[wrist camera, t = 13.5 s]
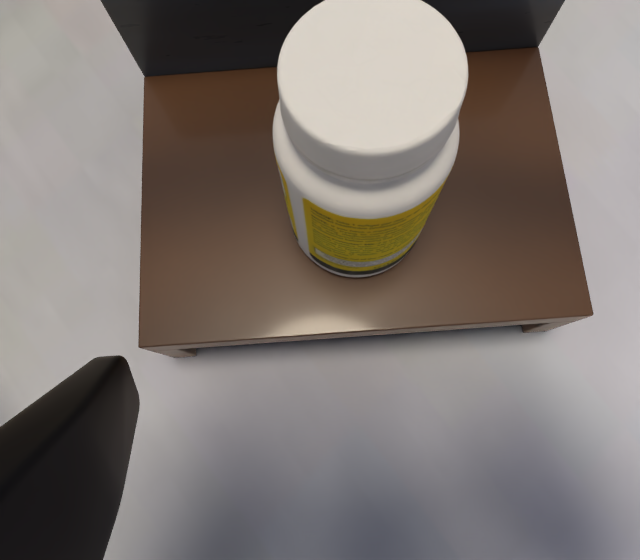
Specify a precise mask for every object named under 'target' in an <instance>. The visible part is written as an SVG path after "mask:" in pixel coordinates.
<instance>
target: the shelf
mask: <svg viewBox="0 0 640 560" xmlns="http://www.w3.org/2000/svg"><path fill="white" fill-rule="evenodd" d="M323 1H324V0H101V2H102V4H103V5H104V7H105V9H106V10H107V12H108V14H109V16H110V17H111V19H112V21H113V23H114V24H115V26H116V28H117V30H118V31H119V33H120V35H121V36H122V38H123V40H124V42H125V43H126V45H127V47H128V49H129V50H130V52H131V54H132V56H133V57H134V59H135V61H136V62H137V64H138V66H139V68H140V69H141V71H142V73H143V75H144V76H145V77H144V115H143V162H142V209H141V256H140V303H139V348H142V349H145V350H149V351H153V352H156V353H160V354H163V355H167V356H170V357H174V358H177V357H191V356H196V348H202V347H216V346H230V345H244V344H258V343H272V342H286V341H300V340H314V339H328V338H342V337H357V336H371V335H385V334H399V333H413V332H427V331H441V330H455V329H469V328H483V327H497V326H511V325H522V329H523V332H524V333H529V332H543V331H548V330H551V329H554V328H557V327H560V326H563V325H566V324H569V323H572V322H575V321H578V320H581V319H584V318H587V317H590V316H592V315H593V310H592V305H591V300H590V296H589V291H588V286H587V281H586V276H585V271H584V266H583V262H582V257H581V252H580V247H579V242H578V237H577V232H576V228H575V223H574V218H573V213H572V208H571V203H570V198H569V194H568V189H567V184H566V179H565V174H564V169H563V164H562V160H561V155H560V150H559V145H558V140H557V135H556V130H555V126H554V121H553V116H552V111H551V106H550V101H549V96H548V92H547V87H546V82H545V77H544V72H543V67H542V62H541V58H540V53H539V48H538V46H539V44H540V42H541V41H542V39H543V37H544V36H545V34H546V32H547V30H548V29H549V27H550V25H551V23H552V22H553V20H554V18H555V17H556V15H557V13H558V11H559V10H560V8H561V6H562V4H563V3H564V1H565V0H421V1H423V2H425V3H427V4H428V5H430V6H431V7H433V8H434V9H436V10H437V11H438V12H439V13H440V14H442V15H443V16H444V17H445V18H446V19H447V20H448V21H449V22H450V24H451V25H452V27H453V28H454V29H455V31H456V32H457V34H458V36H459V37H460V39H461V41H462V43H463V46H464V49H465V52H466V55H467V62H468V84H467V90H466V94H465V97H464V100H463V103H462V106H461V109H460V112H459V117H458V121H459V146H458V151H457V155H456V159H455V162H454V165H453V167H452V169H451V172H450V174H449V176H448V178H447V180H446V182H445V184H444V186H443V188H442V190H441V192H440V194H439V196H438V198H437V200H436V202H435V204H434V206H433V208H432V210H431V212H430V214H429V216H428V218H427V220H426V222H425V225H424V226H423V228H422V231H421V233H420V235H419V237H418V239H417V241H416V243H415V245H414V246H413V247H412V249H411V250H410V251H409V253H408V254H407V255H406V256H405V257H404V258H403V259H402V260H401V261H400V262H399V263H397V264H396V265H395V266H393V267H392V268H390V269H388V270H386V271H384V272H382V273H379V274H376V275H372V276H367V277H346V276H341V275H337V274H334V273H331V272H329V271H327V270H325V269H323V268H322V267H320V266H319V265H317V264H316V263H315V262H314V261H312V260H311V259H310V258H309V257H308V256H307V255H306V254H305V253H304V251H303V250H302V249H301V247H300V246H299V244H298V242H297V240H296V238H295V235H294V233H293V229H292V225H291V221H290V217H289V213H288V209H287V204H286V200H285V196H284V192H283V187H282V183H281V178H280V174H279V170H278V166H277V162H276V158H275V153H274V146H273V120H274V115H275V111H276V107H277V104H278V102H279V91H278V83H277V65H278V59H279V55H280V51H281V48H282V45H283V43H284V41H285V39H286V37H287V35H288V34H289V32H290V31H291V29H292V28H293V26H294V25H295V24H296V23H297V22H298V20H299V19H300V18H301V17H302V16H303V15H304V14H306V13H307V12H308V11H309V10H311V9H312V8H313V7H314V6H316V5H318V4H320V3H321V2H323Z"/></svg>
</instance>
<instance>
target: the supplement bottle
mask: <svg viewBox="0 0 640 560" xmlns="http://www.w3.org/2000/svg"><path fill="white" fill-rule="evenodd" d="M277 83H278V91H279V102H278V104H277V107H276V111H275V115H274V120H273V146H274V153H275V158H276V162H277V166H278V170H279V174H280V178H281V183H282V187H283V192H284V196H285V200H286V204H287V209H288V213H289V217H290V221H291V225H292V229H293V233H294V235H295V238H296V240H297V242H298V244H299V246H300V247H301V249H302V250H303V251H304V253H305V254H306V255H307V256H308V257H309V258H310V259H311V260H312V261H314V262H315V263H316V264H317V265H319V266H320V267H322V268H323V269H325V270H327V271H329V272H331V273H334V274H337V275H341V276H346V277H367V276H372V275H376V274H379V273H382V272H384V271H386V270H388V269H390V268H392V267H393V266H395V265H396V264H397V263H399V262H400V261H401V260H402V259H403V258H404V257H405V256H406V255H407V254H408V253H409V251H410V250H411V249H412V247H413V246H414V245H415V243H416V241H417V239H418V237H419V235H420V233H421V231H422V228H423V226H424V225H425V222H426V220H427V218H428V216H429V214H430V212H431V210H432V208H433V206H434V204H435V202H436V200H437V198H438V196H439V194H440V192H441V190H442V188H443V186H444V184H445V182H446V180H447V178H448V176H449V174H450V172H451V169H452V167H453V165H454V162H455V159H456V155H457V151H458V146H459V121H458V117H459V112H460V109H461V106H462V103H463V100H464V97H465V94H466V90H467V84H468V62H467V55H466V52H465V49H464V46H463V43H462V41H461V39H460V37H459V36H458V34H457V32H456V31H455V29H454V28H453V27H452V25H451V24H450V22H449V21H448V20H447V19H446V18H445V17H444V16H443V15H442V14H440V13H439V12H438V11H437V10H436V9H434V8H433V7H431V6H430V5H428V4H427V3H425V2H423V1H421V0H324V1H323V2H321V3H320V4H318V5H316V6H314V7H313V8H312V9H311V10H309V11H308V12H307V13H306V14H304V15H303V16H302V17H301V18H300V19H299V20H298V22H297V23H296V24H295V25H294V26H293V28H292V29H291V31H290V32H289V34H288V35H287V37H286V39H285V41H284V43H283V45H282V48H281V51H280V55H279V59H278V65H277Z"/></svg>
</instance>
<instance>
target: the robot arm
mask: <svg viewBox="0 0 640 560" xmlns="http://www.w3.org/2000/svg"><path fill="white" fill-rule="evenodd" d="M139 405H140V402H139V394H138V391H137V388H136V385H135V382H134V379H133V376H132V374H131V371H130V368H129V365H128V362H127V360H126V359H125V358H124V357H122V356H119V355H118V356H104V357H97V358H94V359H93V360H91V361H90V362H89V363H87V364H86V365H84V366H83V367H82V368H80V369H79V370H78V371H76V372H75V373H74V374H72V375H71V376H69V377H68V378H67V379H65V380H64V381H63V382H61V383H60V384H58V385H57V386H56V387H54V388H53V389H52V390H50V391H49V392H48V393H46V394H45V395H43V396H42V397H41V398H39V399H38V400H37V401H35V402H34V403H32V404H31V405H30V406H28V407H27V408H26V409H24V410H23V411H22V412H20V413H19V414H17V415H16V416H15V417H13V418H12V419H11V420H9V421H8V422H6V423H5V424H4V425H2V426H1V427H0V560H103V558H104V555H105V551H106V548H107V545H108V542H109V539H110V536H111V532H112V529H113V526H114V523H115V520H116V516H117V513H118V509H119V506H120V502H121V498H122V494H123V489H124V484H125V479H126V474H127V469H128V464H129V459H130V454H131V449H132V444H133V439H134V433H135V428H136V423H137V418H138V413H139Z"/></svg>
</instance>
